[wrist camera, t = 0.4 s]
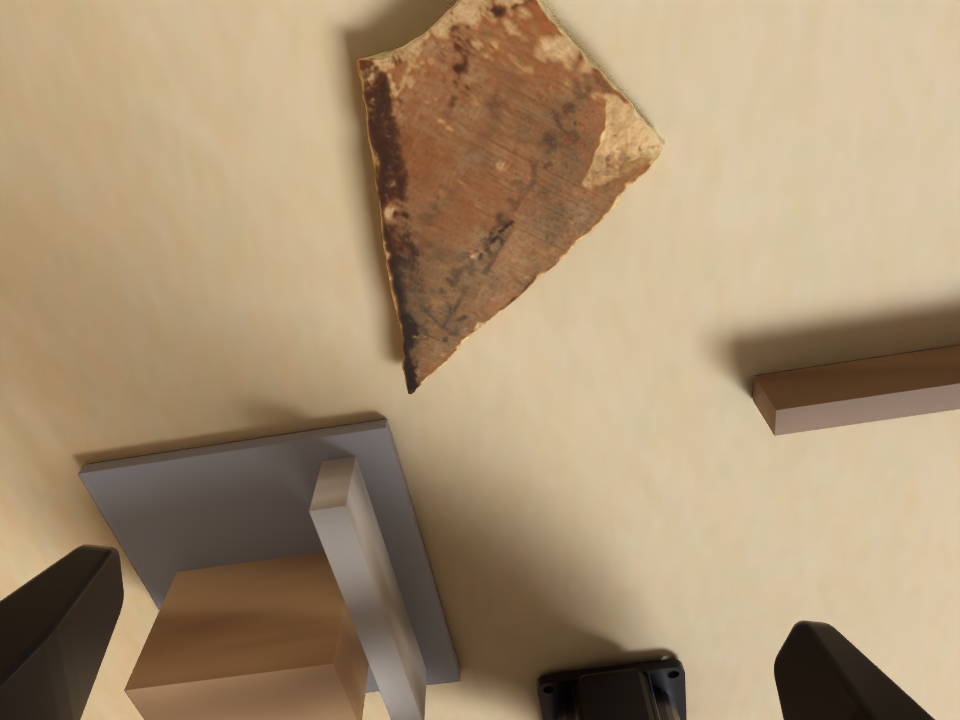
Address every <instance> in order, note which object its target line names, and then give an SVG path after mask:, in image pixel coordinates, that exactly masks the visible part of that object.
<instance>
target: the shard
mask: <svg viewBox="0 0 960 720" xmlns="http://www.w3.org/2000/svg"><path fill="white" fill-rule="evenodd" d="M356 63H357V70H358V75H359V78H360V80H361V84H362V88H363V90H362V98H363V100H364V103H365V107H366V115H367V131H368V142H369V145H370V148H371V155H372V160H373V165H374V170H375V177H374V179H375V186H376V191H377V197H378V202H379V207H380V217H381V232H382V238H383V248H384V251H385V254H386V266H387V270H388V276H389V282H390V288H391V296H392V299H393V301H394V305H395V311H396V316H397V319H398V321H399V323H400V326H401V336H402V340H403V351H404V359H403V364H402V368H403V371H404V375H405V381H406V386H407V390H408V394H412V393H414V392H415V390H416V388H417V387H419V386H420V385H421V384H422V383H423V382H424V381H425V380H426V379H427V378H428V377H429V376H430V375H431V374H432V373H434V372H435V371H436V370H437V369H438V368H439V367H440V366H442V365H443V364H444V363H445V362H447V361H448V360H449V358H450V357H451V356H452V355H453V354H454V353H455V351H456V350H457V349H458V348H459V347H460V345H461V344H462V342H463V341H465V340H466V339H468V338H469V337H471V335H472V334H473V333H474V332H475V331H477V330H478V329H479V328H480V327H481V326H482V325H483V324H485V323H486V321H488V320H490V319H491V318H492V317H493V316H495V315H496V314H497V313H498V311H500V310H502V309H504V308H506V307H507V306H508V305H509V304H511V303H512V302H513V301H515V300H516V299H518V298H519V297H520V296H521V295H522V294H523V293H524V292H525V291H526V290H527V289H528V288H529V287H530V286H531V285H532V284H533V283H534V282H535V281H536V280H537V279H538V278H539V277H540V276H541V275H542V274H544V273H545V272H547V271H548V270H550V269H551V268H552V267H554V266H555V265H556V264H557V263H558V262H559V261H560V260H562V259H563V257H564V256H565V255H566V254H568V253H569V252H570V251H571V249H572V247H573V246H574V244H575V243H576V242H577V241H579V240H580V239H581V238H583V237H584V236H586V235H587V234H589V233H590V232H591V231H592V230H593V229H594V227H595V226H596V225H597V224H598V223H599V222H600V221H601V220H602V219H603V218H604V217H605V216H606V215H607V214H608V213H609V212H610V211H611V210H612V209H613V208H614V207H615V206H616V205H617V204H618V201H619V199H620V196H621V194H622V193H623V192H624V191H625V189H626V188H628V187H629V186H630V185H631V184H632V183H634V182H635V181H636V180H637V179H638V178H639V177H641V176H642V175H643V174H644V173H646V172H647V171H648V170H649V169H650V168H651V167H652V166H653V165H654V164H655V163H656V161H657V159H658V157H659V154H660V152H661V150H662V147H663V146H664V144H665V140H663V139H662V138H661V137H660V136H659V135H658V133H657V132H656V131H655V129H654V128H653V127H652V126H651V125H650V124H649V123H647V122H646V121H645V120H644V119H643V118H642V117H641V116H640V115H639V114H638V113H637V111H636V109H635V108H634V106H633V104H632V102H631V101H630V100H629V99H628V98H627V97H626V96H625V95H624V94H623V93H622V92H621V91H620V90H619V89H618V88H617V87H616V86H615V85H614V83H613V82H612V81H611V80H610V79H609V78H608V76H607V75H606V74H605V73H604V72H603V71H602V70H601V69H600V68H599V67H598V66H597V65H596V64H595V63H594V62H593V61H592V60H591V59H590V58H589V57H588V56H587V55H586V54H585V53H584V52H583V51H582V49H581V48H580V47H579V46H578V45H576V44H575V43H574V42H573V41H572V40H571V38H570V37H569V36H568V34H567V33H566V31H565V30H564V29H563V27H562V26H560V25H559V24H558V23H557V22H556V20H555V18H554V17H553V15H552V14H551V12H550V11H549V9H548V8H547V7H546V6H545V4H544V3H543V2H542V1H541V0H458V1H457V2H456V3H455V4H454V5H453V6H452V7H451V8H450V9H449V10H448V11H447V12H445V13H444V15H443V16H442V17H441V18H440V19H439V20H438V21H437V22H436V23H435V24H434V25H432V26H431V27H430V28H429V29H428V30H427V31H426V32H425V33H424V34H422V35H420V36H419V37H417V38H415V39H413V40H412V41H410V42H409V43H408V44H406V45H404V46H403V47H399V48H396V49H394V50H392V51H386V52H381V53H378V54H375V55H372V56H368V57H365V58H360V59H358V60H357V62H356Z"/></svg>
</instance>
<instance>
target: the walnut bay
mask: <svg viewBox="0 0 960 720" xmlns="http://www.w3.org/2000/svg"><path fill="white" fill-rule="evenodd" d="M753 401H754V403H755V404H756V406H757V408H758V409H759V411H760V413H761V414H762V416H763V417H764V419H765V421H766V422H767V424H768V425H769V427H770V429H771V430H772V432H773V434H774V435H782V434H789V433H796V432H803V431H810V430H817V429H824V428H831V427H838V426H845V425H852V424H859V423H865V422H872V421H879V420H886V419H893V418H900V417H907V416H914V415H921V414H928V413H935V412H942V411H949V410H956V409H960V345H957V346H950V347H944V348H937V349H930V350H924V351H917V352H910V353H904V354H897V355H890V356H884V357H877V358H870V359H864V360H857V361H850V362H844V363H837V364H830V365H824V366H817V367H810V368H804V369H797V370H790V371H784V372H777V373H770V374H764V375H757V376H754V384H753Z"/></svg>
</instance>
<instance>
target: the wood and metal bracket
mask: <svg viewBox="0 0 960 720" xmlns="http://www.w3.org/2000/svg"><path fill="white" fill-rule="evenodd" d="M309 512H310V515H311V517H312V520H313V522H314V525H315V528H316V530H317V533H318V535H319V538H320V540H321V543H322V545H323V548H324V550H325V552H318V553H311V554H303V555H296V556H289V557H282V558H275V559H267V560H260V561H253V562H246V563H239V564H232V565H224V566H217V567H210V568H203V569H196V570H188V571H181V572H177V573H176V575H175V577H174V579H173V582H172V584H171V586H170V588H169V591H168V593H167V595H166V597H165V600H164V602H163V604H162V606H161V609H160V611H159V613H158V615H157V618H156V620H155V622H154V624H153V627H152V629H151V631H150V633H149V636H148V638H147V640H146V642H145V645H144V647H143V649H142V651H141V654H140V656H139V658H138V660H137V663H136V665H135V667H134V669H133V672H132V674H131V676H130V678H129V681H128V683H127V685H126V687H125V690H124V691H125V693H126V694H127V695H128V697H129V698H130V700H131V701H132V703H133V704H134V705H135V707H136V708H137V710H138V711H139V713H140V714H141V716H142V717H143V718H144V720H362V715H363V707H364V699H365V691H366V683H367V675H368V667H369V665H370V667H371V670H372V672H373V675H374V677H375V680H376V682H377V685H378V688H379V690H380V693H381V695H382V698H383V700H384V703H385V705H386V708H387V710H388V713H389V715H390V718H391V720H424V715H425V695H426V674H427V670H426V667H425V664H424V661H423V658H422V655H421V652H420V649H419V646H418V643H417V640H416V637H415V634H414V631H413V628H412V625H411V622H410V619H409V616H408V613H407V609H406V606H405V603H404V600H403V597H402V594H401V591H400V588H399V585H398V582H397V579H396V576H395V573H394V570H393V567H392V564H391V561H390V558H389V555H388V552H387V549H386V546H385V543H384V540H383V537H382V534H381V531H380V528H379V525H378V522H377V519H376V516H375V513H374V510H373V507H372V504H371V501H370V498H369V494H368V491H367V488H366V485H365V482H364V479H363V476H362V473H361V470H360V467H359V464H358V461H357V458H356V456H353V457H346V458H340V459H333V460H326V461H322V464H321V468H320V471H319V475H318V479H317V483H316V487H315V490H314V494H313V498H312V502H311V506H310V509H309Z"/></svg>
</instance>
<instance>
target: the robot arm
mask: <svg viewBox="0 0 960 720" xmlns="http://www.w3.org/2000/svg"><path fill="white" fill-rule="evenodd" d="M123 598H124V590H123V581H122V573H121V564H120V556H119V553H118V551H117V550H116V549H115V548H113V547H106V546H97V545H82V546H80V547H78V548H76V549H74V550H73V551H71V552H70V553H69V554H67V555H66V556H64V557H63V558H61V559H60V560H59V561H57V562H56V563H54V564H53V565H51V566H50V567H49V568H47V569H46V570H44V571H43V572H41V573H40V574H39V575H37V576H36V577H34V578H33V579H31V580H30V581H28V582H27V583H26V584H24V585H23V586H21V587H20V588H18V589H17V590H16V591H14V592H13V593H11V594H10V595H8V596H7V597H6V598H4V599H3V600H1V601H0V720H80V719H81V716H82V714H83V711H84V708H85V706H86V703H87V700H88V698H89V695H90V692H91V690H92V687H93V684H94V682H95V679H96V676H97V674H98V671H99V668H100V666H101V663H102V660H103V657H104V655H105V652H106V649H107V647H108V644H109V641H110V639H111V636H112V633H113V631H114V628H115V625H116V623H117V620H118V617H119V615H120V612H121V608H122V604H123ZM774 676H775V681H776V686H777V690H778V695H779V700H780V704H781V709H782V714H783V718H784V720H935V719H934V718H933V717H932V716H930V715H929V714H928V713H927V712H926V711H925V710H924V709H923V708H922V707H921V706H919V705H918V704H917V703H916V702H915V701H914V700H913V699H912V698H911V697H910V696H909V695H907V694H906V693H905V692H904V691H903V690H902V689H901V688H900V687H899V686H898V685H896V684H895V683H894V682H893V681H892V680H891V679H890V678H889V677H888V676H887V675H886V674H884V673H883V672H882V671H881V670H880V669H879V668H878V667H877V666H876V665H875V664H873V663H872V662H871V661H870V660H869V659H868V658H867V657H866V656H865V655H864V654H863V653H861V652H860V651H859V650H858V649H857V648H856V647H855V646H854V645H853V644H852V643H851V642H849V641H848V640H847V639H846V638H845V637H844V636H843V635H842V634H841V633H840V632H838V631H837V630H836V629H835V628H834V627H833V626H831V625H829V624H827V623H822V622H812V621H799V622H798V623H796V624H795V625H794V626H793V628H792V630H791V632H790V633H789V635H788V637H787V639H786V641H785V642H784V644H783V646H782V648H781V649H780V651H779V653H778V655H777V657H776V660H775V664H774ZM537 691H538V696H539V701H540V705H541V710H542V715H543V720H686V691H685V672H684V668H683V665H682V662H680V661H679V660H675V659H670V660H662V661H654V662H646V663H638V664H630V665H622V666H614V667H606V668H598V669H590V670H582V671H574V672H566V673H558V674H549V675H544V676H541V677H540V678H539V679H538V680H537Z"/></svg>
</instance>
